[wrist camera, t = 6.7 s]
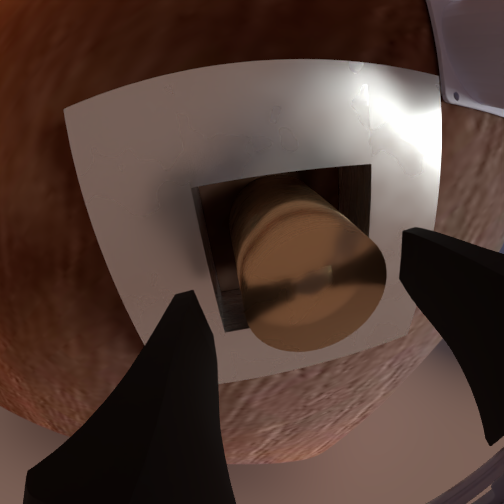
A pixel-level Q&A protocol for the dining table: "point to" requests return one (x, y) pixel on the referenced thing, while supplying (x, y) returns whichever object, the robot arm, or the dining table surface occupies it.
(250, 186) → the cylinder
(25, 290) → the dining table surface
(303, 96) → the square stone frame
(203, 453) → the robot arm
